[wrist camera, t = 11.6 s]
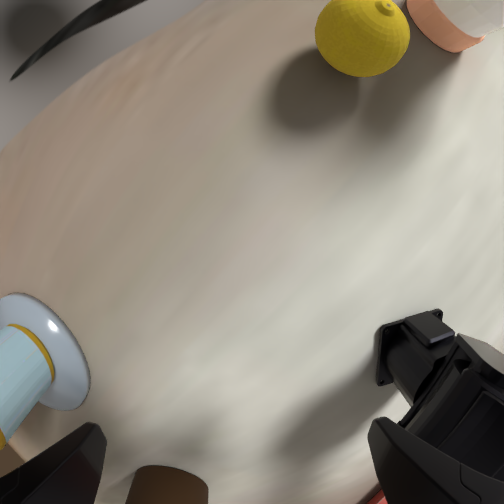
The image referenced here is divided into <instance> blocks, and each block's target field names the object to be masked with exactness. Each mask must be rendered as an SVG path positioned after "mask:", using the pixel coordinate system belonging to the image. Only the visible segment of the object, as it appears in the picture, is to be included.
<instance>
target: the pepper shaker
mask: <svg viewBox="0 0 504 504" xmlns="http://www.w3.org/2000/svg"><path fill="white" fill-rule="evenodd" d="M407 9H408V11H409V14H410V16H411V18H412V19H413V21H414V22H415V24H416V25H417V27H418V28H419V29H420V30H421V31H422V32H423V33H424V35H425V36H427V37H428V38H429V39H430V40H431V41H432V42H433V43H434V44H436V45H438V46H439V47H441V48H442V49H444V50H447V51H450V52H452V53H453V52H461V51H463V50H465V49H467V48H469V47H471V46H473V45H475V44H478V43H480V42H481V41H482V40H483V39H484V36H485V35H487V34H489V33H492V32H494V31H497V30H499V29H502V28H504V0H407Z"/></svg>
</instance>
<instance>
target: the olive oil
mask: <svg viewBox="0 0 504 504" xmlns="http://www.w3.org/2000/svg"><path fill="white" fill-rule="evenodd" d="M125 504H208V486H207V485H206V483H205V482H204V481H202V480H201V479H200V478H198V477H196V476H195V475H193V474H190V473H188V472H185V471H182V470H179V469H175V468H171V467H165V466H146V467H142V468H140V469H138V470H137V472H136V473H135V476H134V479H133V482H132V485H131V488H130V491H129V494H128V497H127V500H126V503H125Z"/></svg>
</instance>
